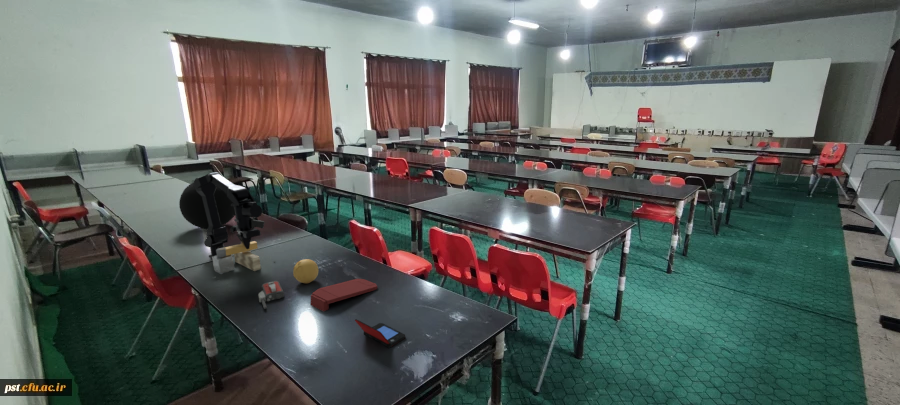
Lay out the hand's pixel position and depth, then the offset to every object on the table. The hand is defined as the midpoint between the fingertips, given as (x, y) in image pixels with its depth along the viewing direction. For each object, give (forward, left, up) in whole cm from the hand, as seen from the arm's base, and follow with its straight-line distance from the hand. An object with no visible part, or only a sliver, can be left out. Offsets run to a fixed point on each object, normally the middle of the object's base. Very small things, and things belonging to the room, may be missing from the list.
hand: (247, 248), depth 180 cm
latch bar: (-3, -3, -1) cm, 5 cm away
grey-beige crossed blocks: (-1, +1, -8) cm, 8 cm away
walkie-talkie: (+37, -10, -9) cm, 40 cm away
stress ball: (+37, +6, -9) cm, 38 cm away
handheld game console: (+91, -4, -9) cm, 92 cm away
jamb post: (-4, -9, -8) cm, 13 cm away
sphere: (-75, +16, -9) cm, 77 cm away
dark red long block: (+59, +8, -9) cm, 60 cm away
